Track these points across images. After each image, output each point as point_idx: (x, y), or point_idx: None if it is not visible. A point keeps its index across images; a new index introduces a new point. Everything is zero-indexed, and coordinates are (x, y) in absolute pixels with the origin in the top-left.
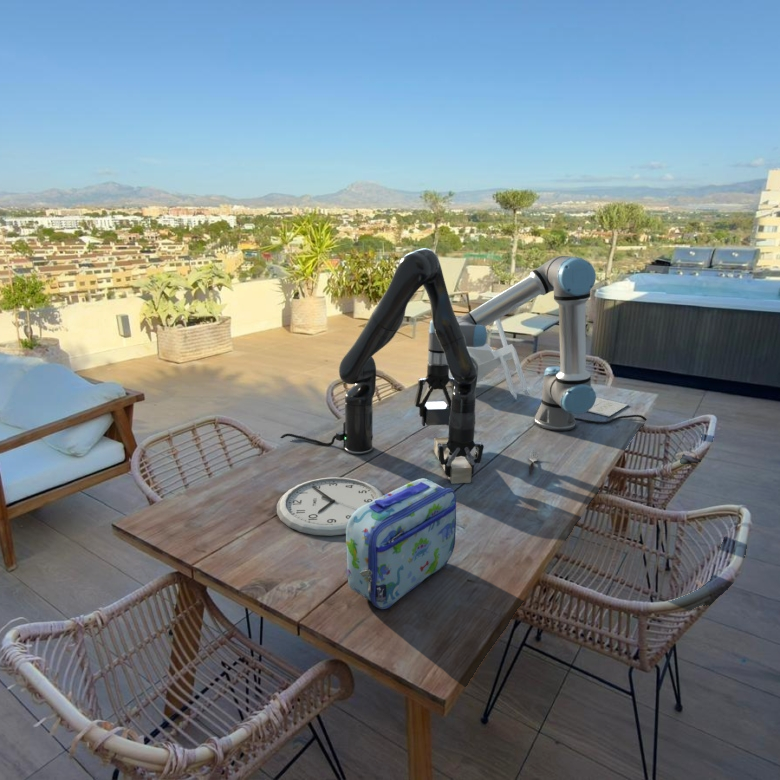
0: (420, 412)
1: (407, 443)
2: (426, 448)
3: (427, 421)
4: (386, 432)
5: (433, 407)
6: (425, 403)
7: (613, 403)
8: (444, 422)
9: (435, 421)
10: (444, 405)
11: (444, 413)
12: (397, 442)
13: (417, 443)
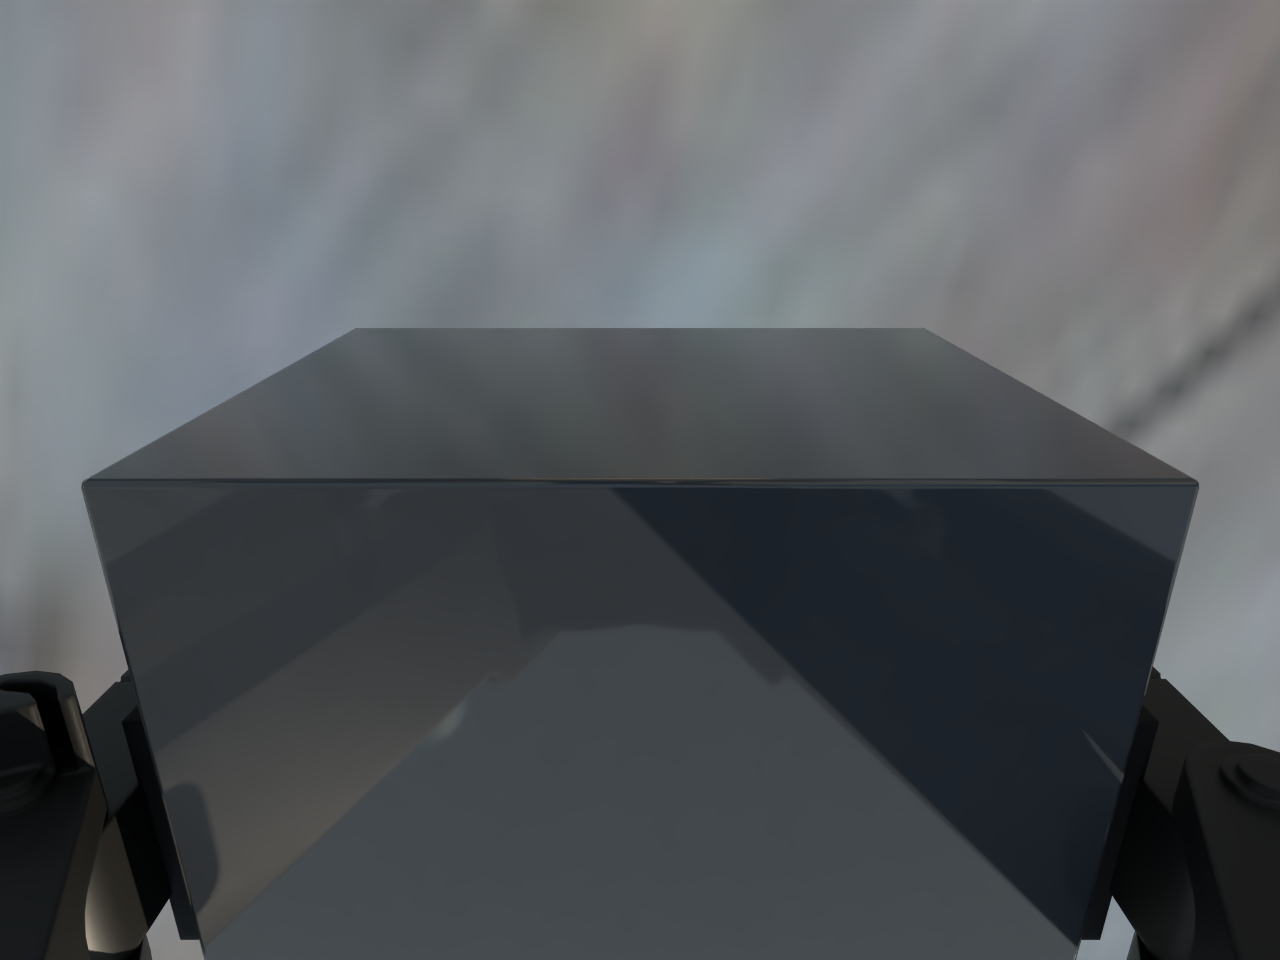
0: (1155, 683)
1: (1117, 299)
2: (878, 44)
3: (952, 347)
4: (1254, 713)
5: (830, 691)
6: (1247, 918)
7: None
8: (460, 342)
9: (716, 350)
10: (302, 866)
11: (405, 409)
12: (1254, 355)
13: (959, 282)
